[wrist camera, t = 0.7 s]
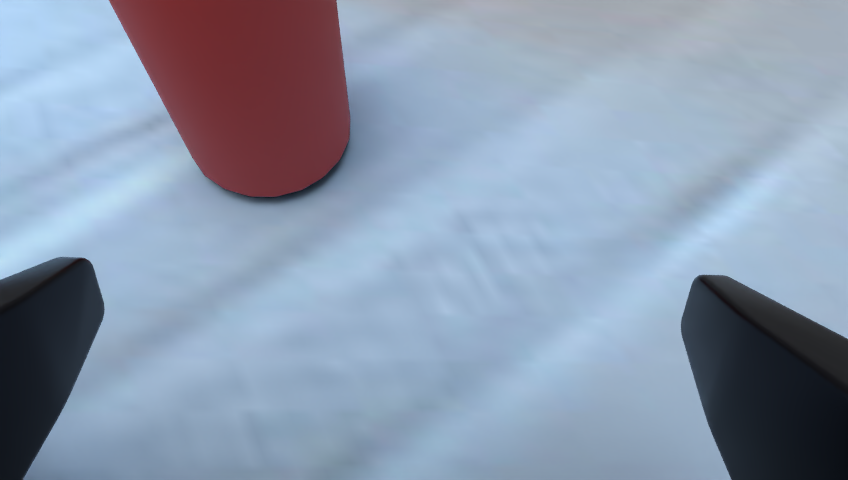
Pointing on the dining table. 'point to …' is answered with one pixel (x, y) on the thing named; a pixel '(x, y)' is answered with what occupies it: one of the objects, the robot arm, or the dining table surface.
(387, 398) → the dining table surface
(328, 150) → the beer can
